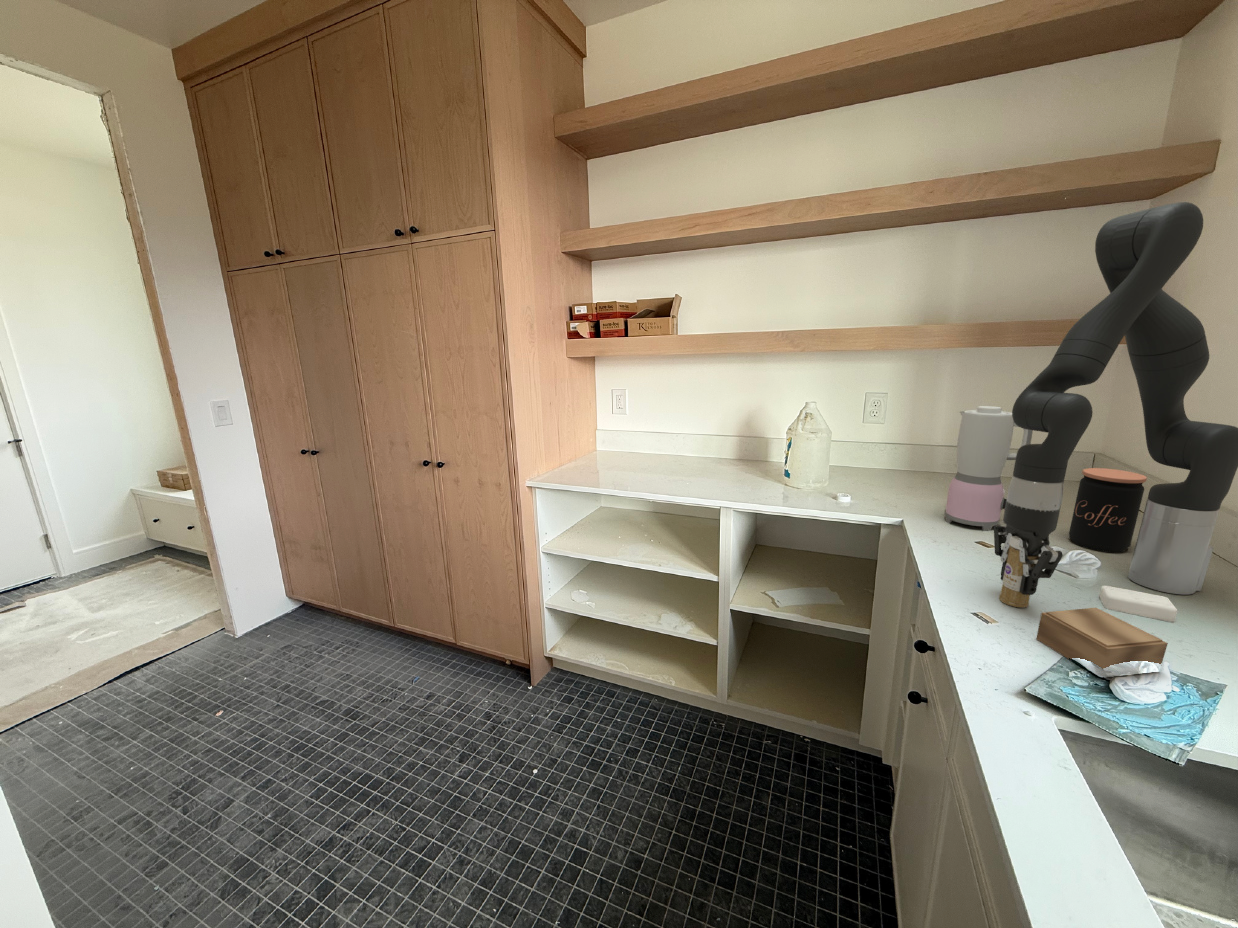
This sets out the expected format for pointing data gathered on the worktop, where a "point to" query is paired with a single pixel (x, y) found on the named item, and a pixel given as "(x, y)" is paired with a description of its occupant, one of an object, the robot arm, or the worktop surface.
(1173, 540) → the robot arm
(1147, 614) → the soap
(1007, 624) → the worktop surface
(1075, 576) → the worktop surface
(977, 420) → the blender
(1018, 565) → the sprinkles bottle
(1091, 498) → the coffee jar
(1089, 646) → the walnut block
